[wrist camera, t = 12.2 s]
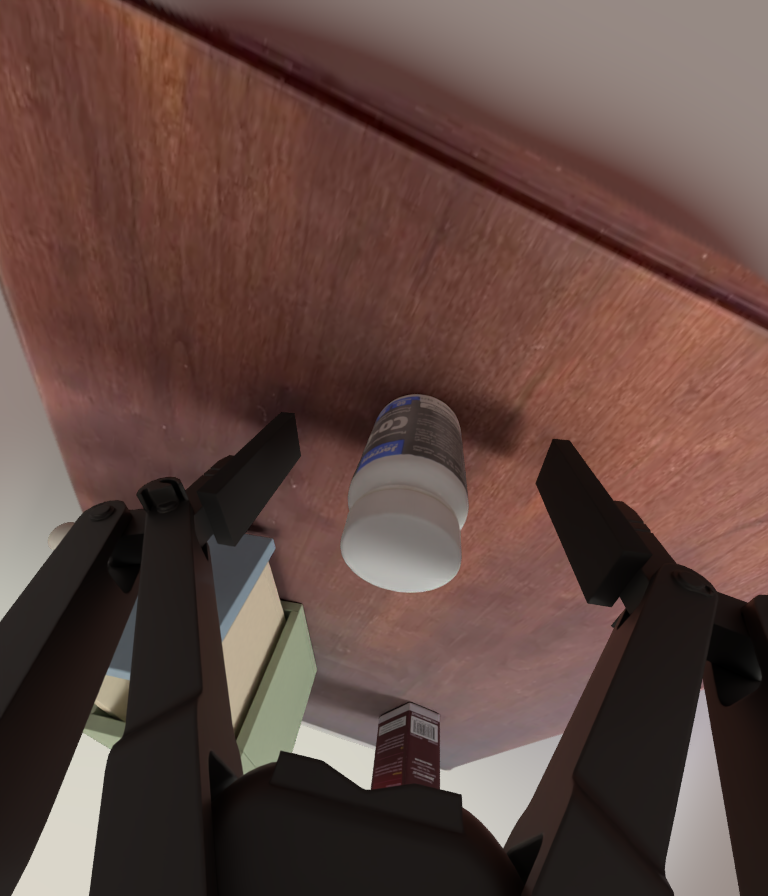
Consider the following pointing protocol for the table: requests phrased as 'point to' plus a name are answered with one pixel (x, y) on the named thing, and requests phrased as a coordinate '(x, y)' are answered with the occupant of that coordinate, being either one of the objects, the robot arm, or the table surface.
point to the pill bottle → (408, 498)
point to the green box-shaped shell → (257, 699)
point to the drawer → (240, 617)
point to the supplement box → (407, 748)
